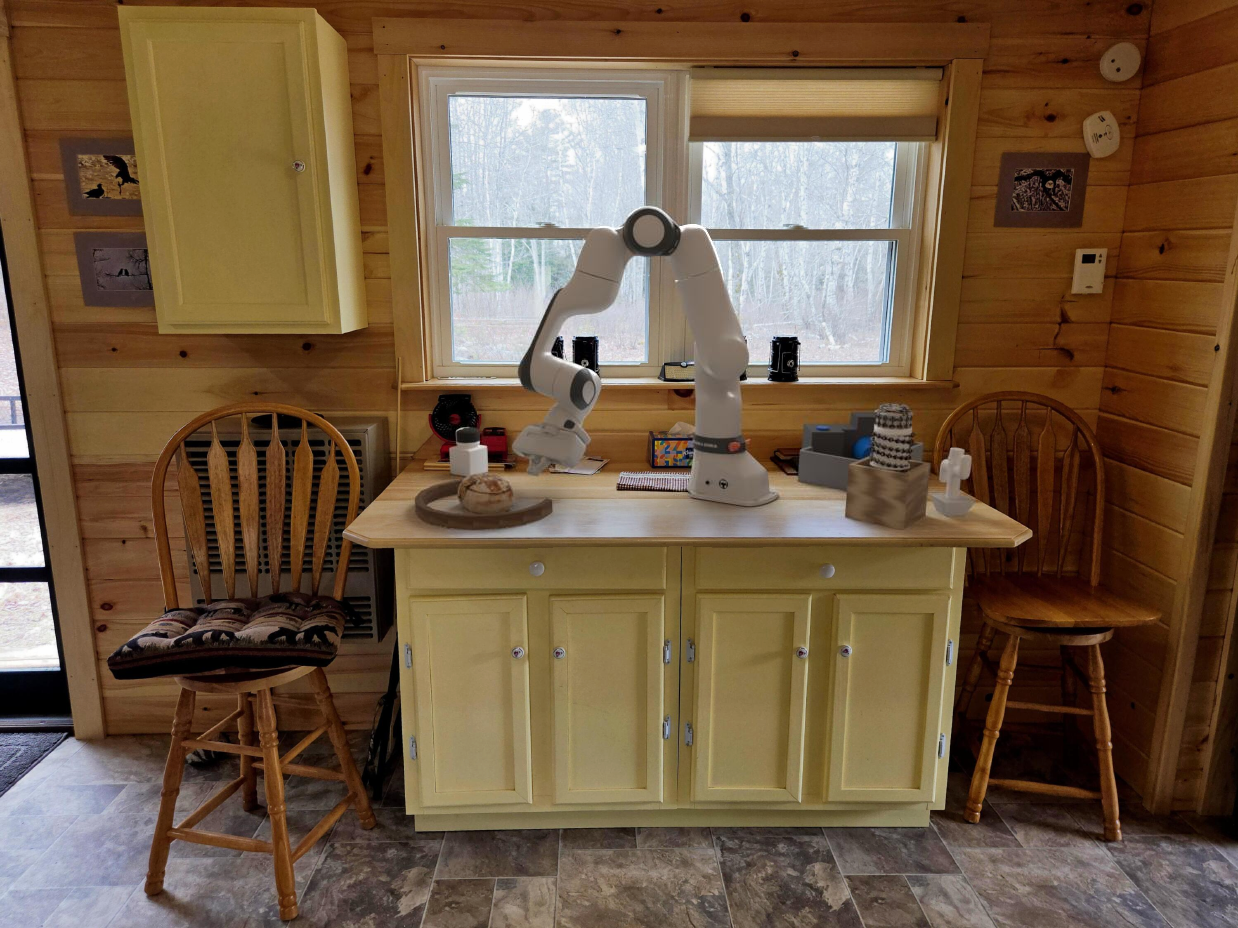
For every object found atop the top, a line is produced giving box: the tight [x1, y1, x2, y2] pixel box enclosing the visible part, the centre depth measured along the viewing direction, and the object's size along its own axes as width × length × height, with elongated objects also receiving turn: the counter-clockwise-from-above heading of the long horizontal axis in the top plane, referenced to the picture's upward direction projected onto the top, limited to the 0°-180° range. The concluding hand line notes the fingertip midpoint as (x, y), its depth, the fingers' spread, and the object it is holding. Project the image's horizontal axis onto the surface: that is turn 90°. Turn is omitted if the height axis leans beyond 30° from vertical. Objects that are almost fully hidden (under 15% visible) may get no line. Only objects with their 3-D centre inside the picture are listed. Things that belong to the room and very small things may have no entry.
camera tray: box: [797, 441, 924, 492], centre depth 214 cm, size 21×30×8 cm
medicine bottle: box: [448, 426, 489, 478], centre depth 215 cm, size 7×7×12 cm
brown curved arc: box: [414, 478, 553, 531], centre depth 184 cm, size 31×24×3 cm
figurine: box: [928, 447, 976, 517], centre depth 183 cm, size 7×9×15 cm
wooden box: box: [844, 456, 932, 530], centre depth 181 cm, size 13×13×12 cm
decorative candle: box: [870, 403, 916, 473], centre depth 179 cm, size 9×9×25 cm
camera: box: [801, 411, 876, 460], centre depth 215 cm, size 25×16×16 cm, turn 89°
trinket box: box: [457, 472, 516, 514], centre depth 186 cm, size 13×15×8 cm
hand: (531, 474), depth 196 cm, fingers closed
